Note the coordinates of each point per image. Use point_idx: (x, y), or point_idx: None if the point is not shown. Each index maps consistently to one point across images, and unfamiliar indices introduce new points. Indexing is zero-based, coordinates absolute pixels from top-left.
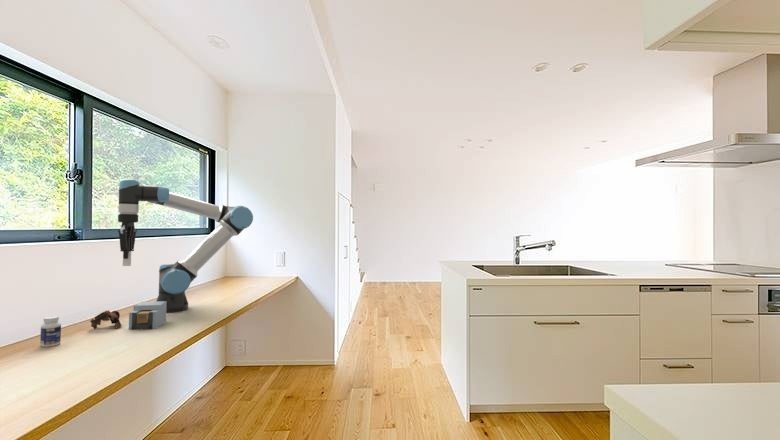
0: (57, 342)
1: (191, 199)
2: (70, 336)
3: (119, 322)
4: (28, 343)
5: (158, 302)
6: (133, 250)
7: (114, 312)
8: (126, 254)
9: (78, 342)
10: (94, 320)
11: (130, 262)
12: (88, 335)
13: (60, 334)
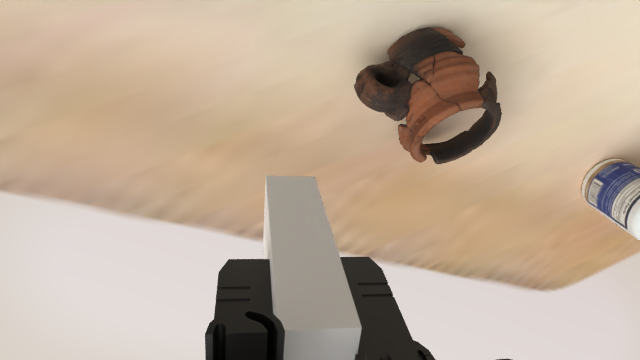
0: (627, 162)
1: None
2: (515, 170)
3: (443, 34)
4: (555, 252)
5: None
6: (238, 318)
7: (401, 90)
8: (398, 315)
9: (620, 103)
10: (492, 133)
11: (288, 197)
12: (527, 111)
13: (632, 171)
